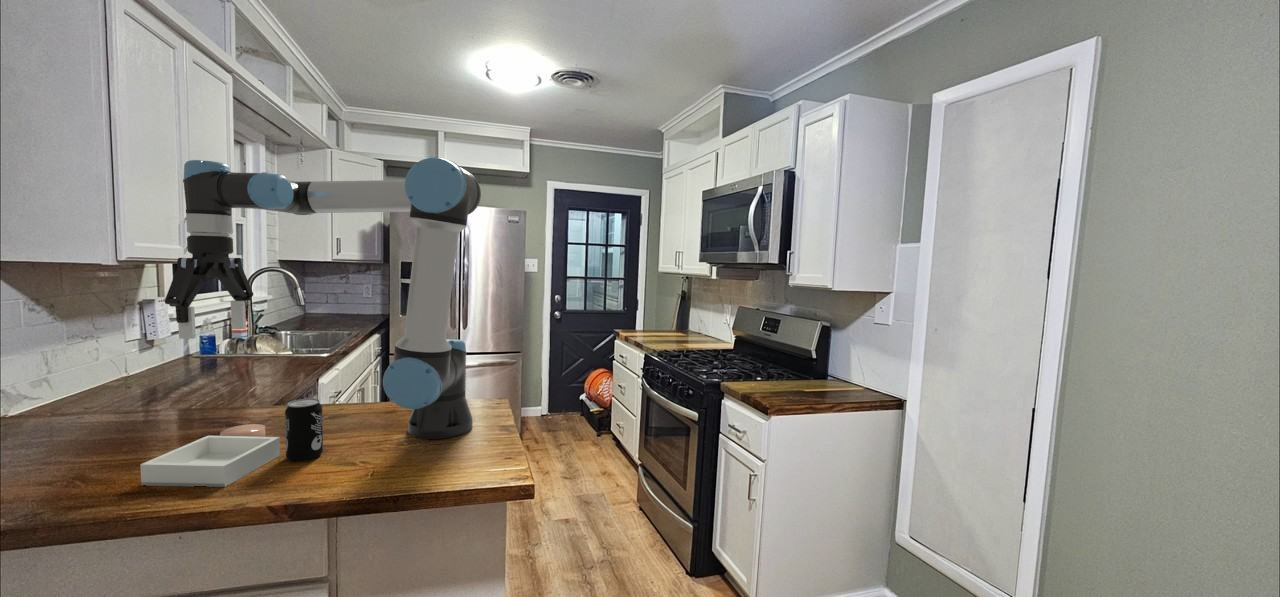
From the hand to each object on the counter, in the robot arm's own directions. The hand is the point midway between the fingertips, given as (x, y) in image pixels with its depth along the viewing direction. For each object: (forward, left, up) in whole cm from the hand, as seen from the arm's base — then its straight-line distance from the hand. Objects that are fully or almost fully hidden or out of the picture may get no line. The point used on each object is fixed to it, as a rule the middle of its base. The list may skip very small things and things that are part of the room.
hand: (214, 333), depth 110 cm
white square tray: (-9, +12, -25) cm, 29 cm away
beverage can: (-22, +5, -26) cm, 34 cm away
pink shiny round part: (-4, -2, -25) cm, 26 cm away
